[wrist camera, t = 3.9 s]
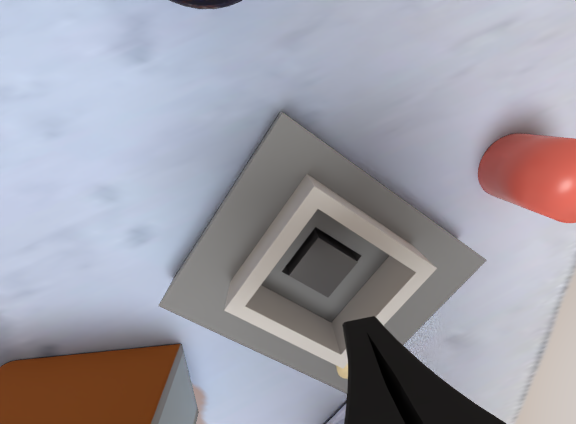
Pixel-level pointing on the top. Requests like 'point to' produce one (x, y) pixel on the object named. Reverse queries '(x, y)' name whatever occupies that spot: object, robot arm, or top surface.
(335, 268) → the button
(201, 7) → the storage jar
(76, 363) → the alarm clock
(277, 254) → the grey square socket base
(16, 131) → the top surface
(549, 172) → the cap
